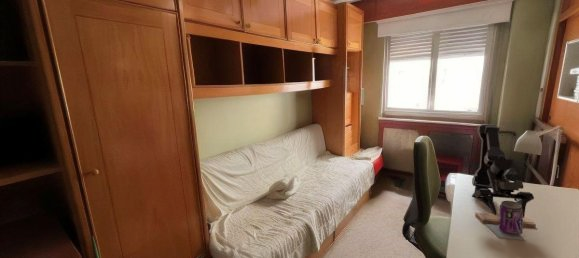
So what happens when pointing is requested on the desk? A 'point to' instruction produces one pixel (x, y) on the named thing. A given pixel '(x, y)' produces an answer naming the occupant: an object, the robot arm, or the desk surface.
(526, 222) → the tan flat block
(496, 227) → the slate mat
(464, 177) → the desk surface
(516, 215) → the beverage can
